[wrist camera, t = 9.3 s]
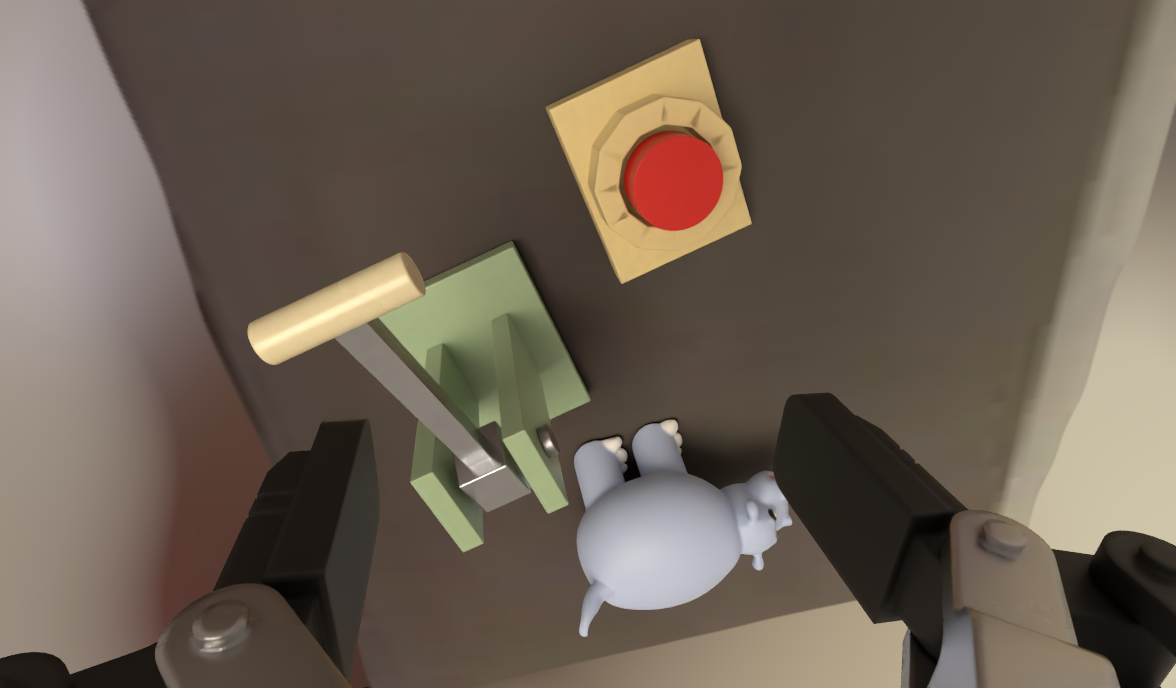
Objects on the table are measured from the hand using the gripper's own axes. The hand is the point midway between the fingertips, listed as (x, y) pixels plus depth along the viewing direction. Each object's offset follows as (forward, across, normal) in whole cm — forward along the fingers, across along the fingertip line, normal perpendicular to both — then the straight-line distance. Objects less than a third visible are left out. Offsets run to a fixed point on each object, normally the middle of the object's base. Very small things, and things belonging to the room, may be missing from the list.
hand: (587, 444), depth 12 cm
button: (+20, -8, -1) cm, 21 cm away
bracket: (+23, +2, +10) cm, 25 cm away
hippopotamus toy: (+23, -10, +21) cm, 33 cm away
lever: (+11, +4, +5) cm, 13 cm away
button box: (+23, -8, -1) cm, 24 cm away
